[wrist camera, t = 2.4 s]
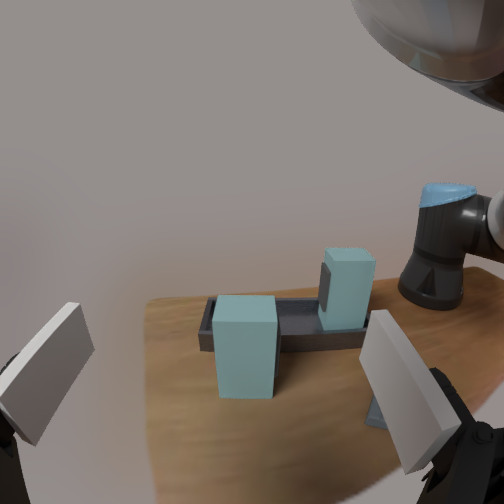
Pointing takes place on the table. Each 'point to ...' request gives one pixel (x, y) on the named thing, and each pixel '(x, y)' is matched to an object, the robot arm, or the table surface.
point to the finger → (246, 345)
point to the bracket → (375, 415)
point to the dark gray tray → (295, 328)
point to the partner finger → (345, 287)
